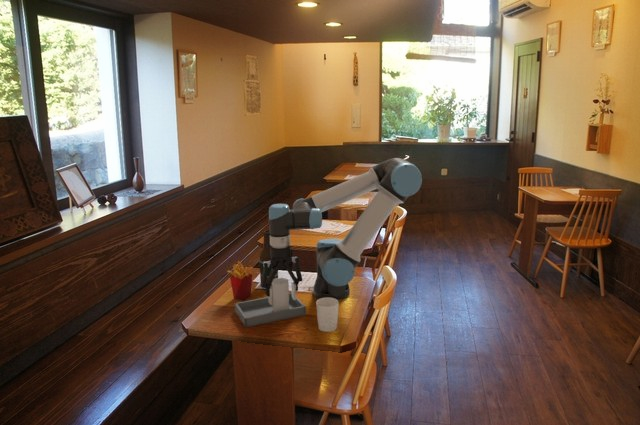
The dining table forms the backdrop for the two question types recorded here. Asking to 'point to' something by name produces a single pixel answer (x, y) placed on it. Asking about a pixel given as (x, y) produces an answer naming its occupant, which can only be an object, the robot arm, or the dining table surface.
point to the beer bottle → (266, 254)
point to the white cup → (327, 314)
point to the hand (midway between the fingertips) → (282, 301)
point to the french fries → (241, 282)
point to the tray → (267, 311)
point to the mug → (280, 294)
